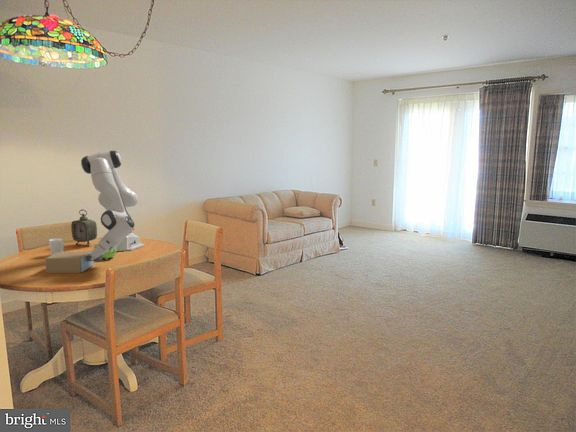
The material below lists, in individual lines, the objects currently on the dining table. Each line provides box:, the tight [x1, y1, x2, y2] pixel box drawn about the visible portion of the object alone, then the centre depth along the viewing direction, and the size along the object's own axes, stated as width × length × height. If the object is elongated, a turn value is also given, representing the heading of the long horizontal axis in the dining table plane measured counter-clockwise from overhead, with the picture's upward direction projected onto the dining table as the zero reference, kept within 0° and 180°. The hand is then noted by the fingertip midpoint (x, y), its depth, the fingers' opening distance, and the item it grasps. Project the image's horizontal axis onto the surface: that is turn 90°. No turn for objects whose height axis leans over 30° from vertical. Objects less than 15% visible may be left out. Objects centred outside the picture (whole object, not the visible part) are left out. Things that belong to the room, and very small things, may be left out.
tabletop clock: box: [70, 209, 98, 247], centre depth 278 cm, size 14×9×25 cm, turn 68°
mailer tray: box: [80, 253, 103, 273], centre depth 223 cm, size 25×14×8 cm, turn 92°
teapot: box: [93, 243, 118, 261], centre depth 245 cm, size 12×12×10 cm
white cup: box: [48, 237, 65, 256], centre depth 252 cm, size 8×8×10 cm
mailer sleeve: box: [44, 251, 92, 274], centre depth 223 cm, size 18×14×8 cm
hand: (93, 258), depth 223 cm, fingers closed on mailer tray, 4 cm apart
